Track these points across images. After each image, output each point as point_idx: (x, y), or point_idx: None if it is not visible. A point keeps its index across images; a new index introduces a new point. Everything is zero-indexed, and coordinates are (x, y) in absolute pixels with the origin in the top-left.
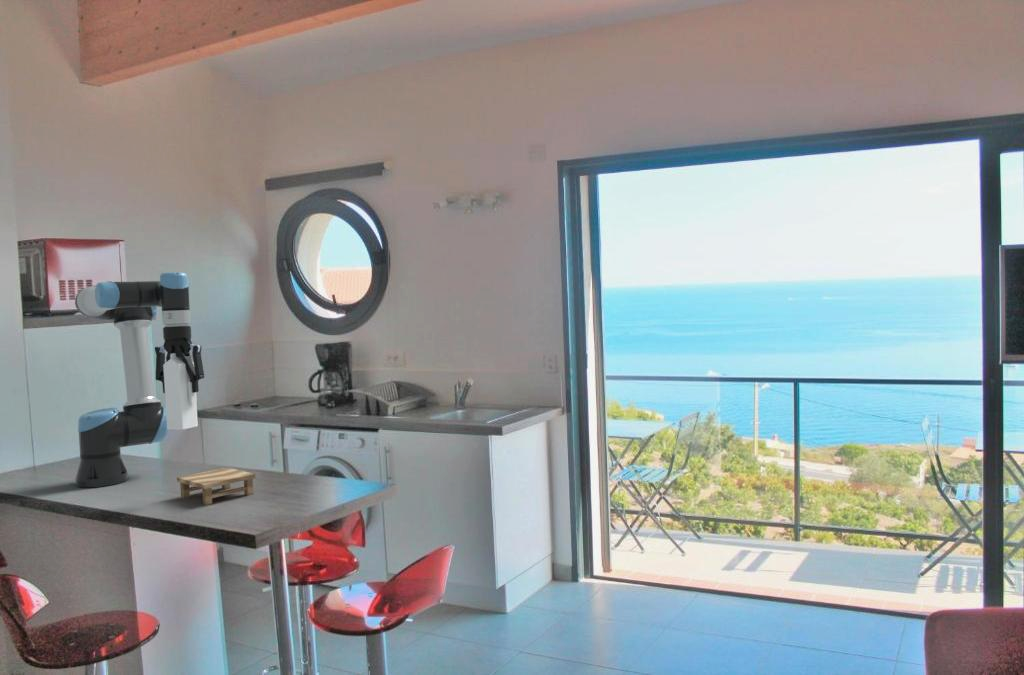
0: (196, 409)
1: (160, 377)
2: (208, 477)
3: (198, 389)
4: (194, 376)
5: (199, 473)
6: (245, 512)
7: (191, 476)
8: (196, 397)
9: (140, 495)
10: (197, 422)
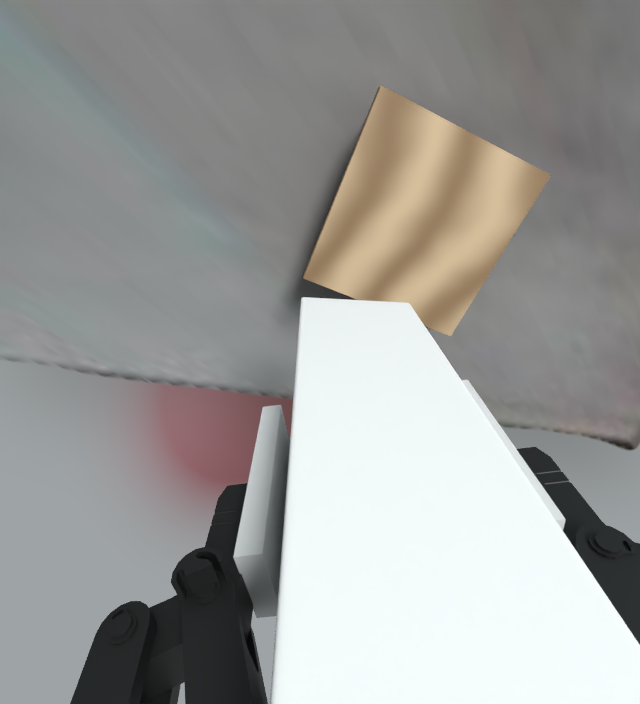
0: (434, 344)
1: (176, 678)
2: (408, 256)
3: (553, 462)
4: (604, 592)
5: (339, 211)
6: (558, 336)
7: (341, 256)
8: (484, 405)
9: (174, 265)
10: (414, 311)
